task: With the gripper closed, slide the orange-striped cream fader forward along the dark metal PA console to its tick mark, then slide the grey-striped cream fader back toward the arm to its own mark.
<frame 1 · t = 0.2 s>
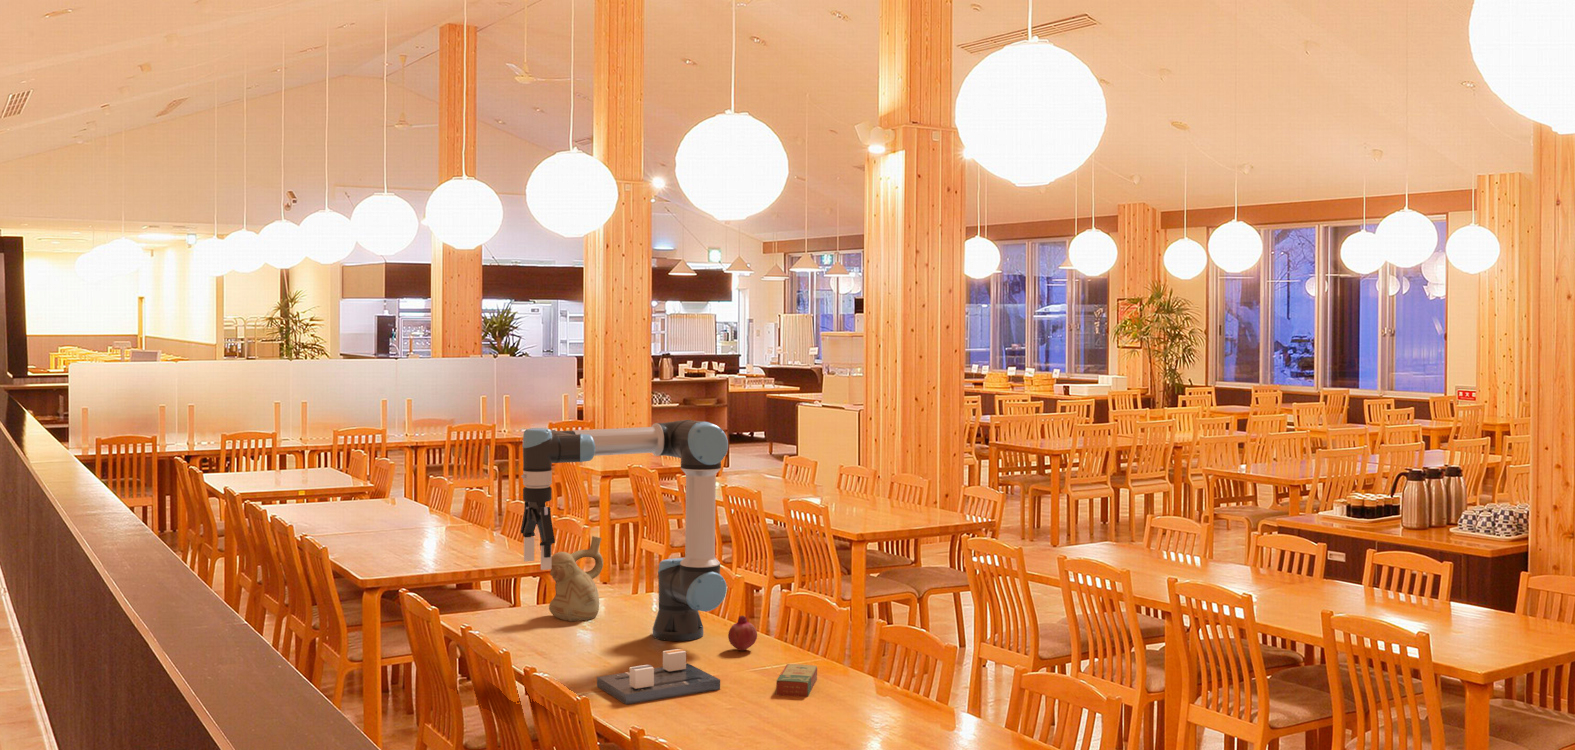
hand: (537, 565, 342), 28 cm above the table, fingers open, 13 cm apart
carton: (796, 689, 326), on the table
console: (658, 687, 324), on the table
ceramic vessel: (577, 618, 402), on the table
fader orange: (674, 659, 332), point 5 cm above the table, slide at -7.0 cm
fader grey: (641, 676, 316), point 5 cm above the table, slide at 7.0 cm
fruit: (742, 651, 362), on the table
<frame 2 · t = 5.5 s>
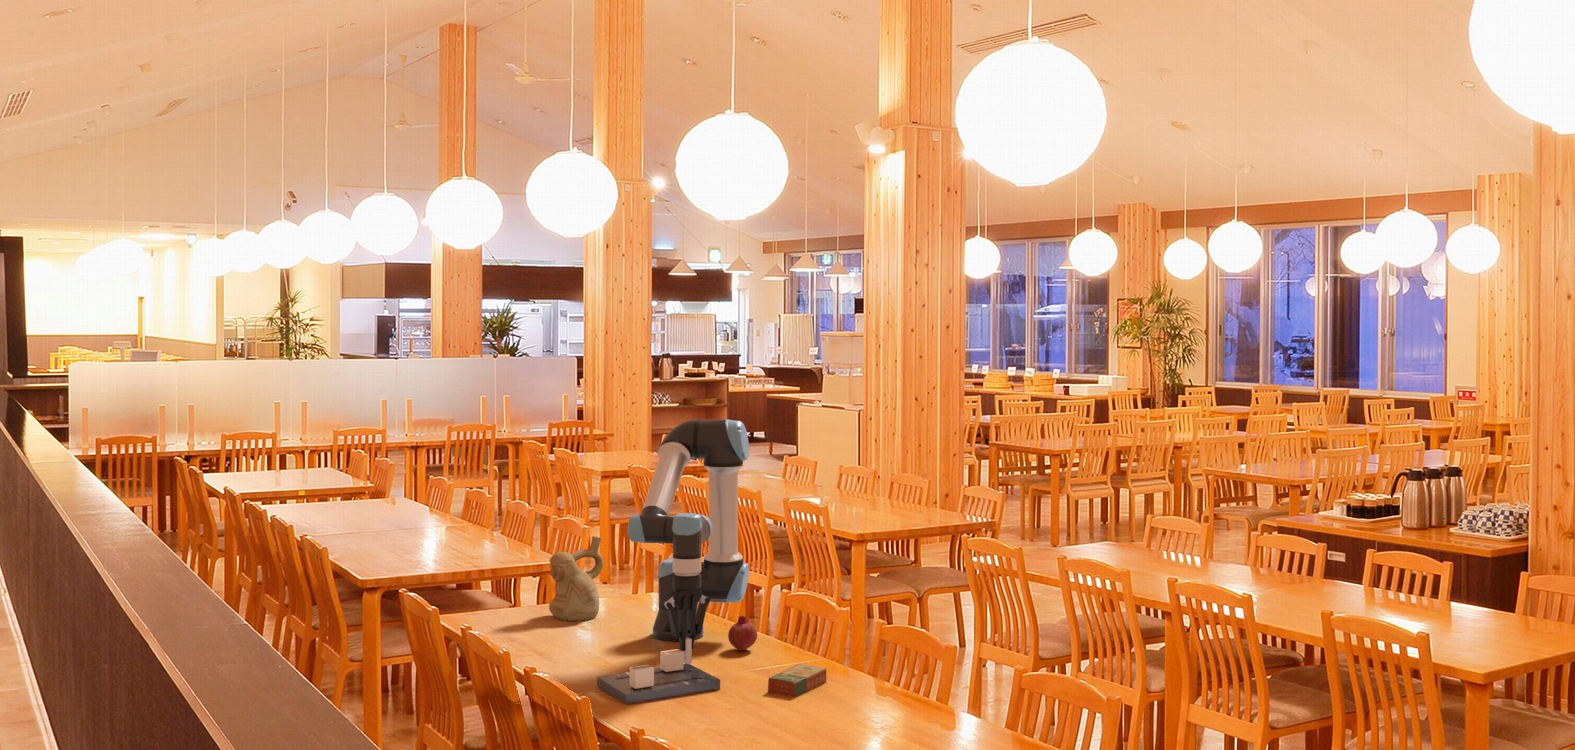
hand: (686, 662, 334), 4 cm above the table, fingers closed
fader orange: (671, 660, 332), point 5 cm above the table, slide at -6.2 cm, touching gripper
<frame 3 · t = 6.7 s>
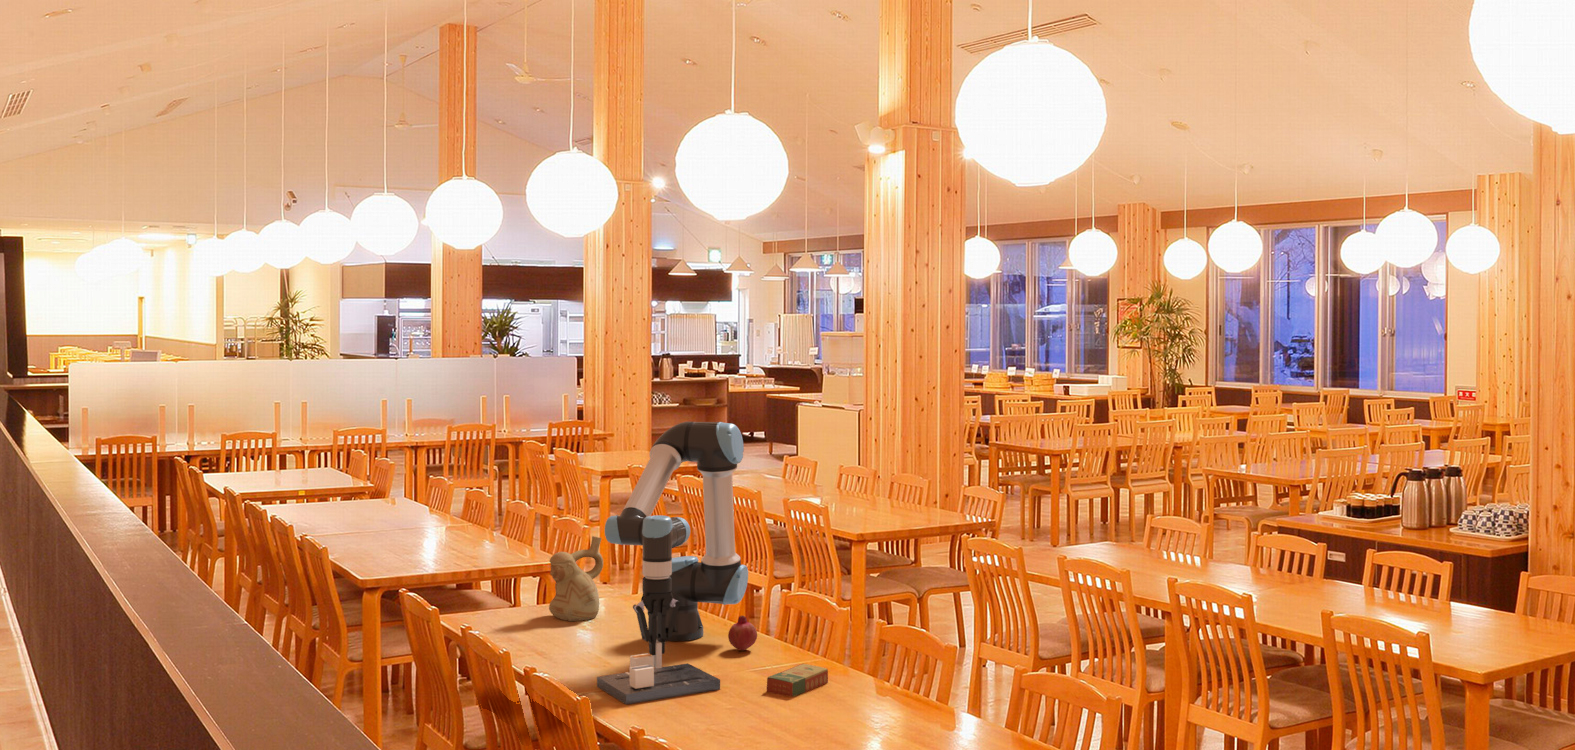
hand: (656, 666, 329), 4 cm above the table, fingers closed
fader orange: (641, 664, 327), point 5 cm above the table, slide at 2.4 cm, touching gripper
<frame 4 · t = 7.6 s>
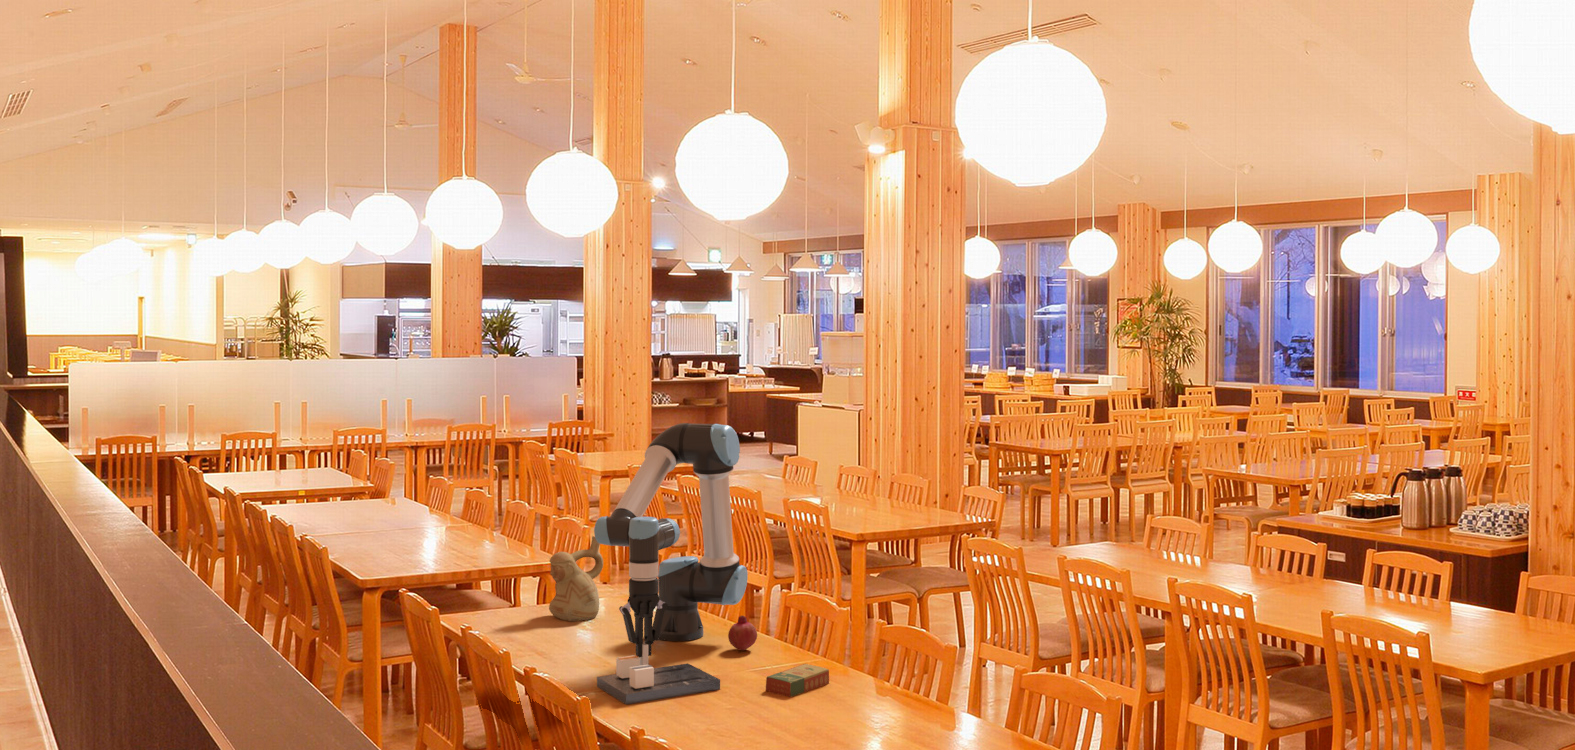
hand: (643, 668, 327), 4 cm above the table, fingers closed
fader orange: (628, 666, 325), point 5 cm above the table, slide at 6.2 cm, touching gripper
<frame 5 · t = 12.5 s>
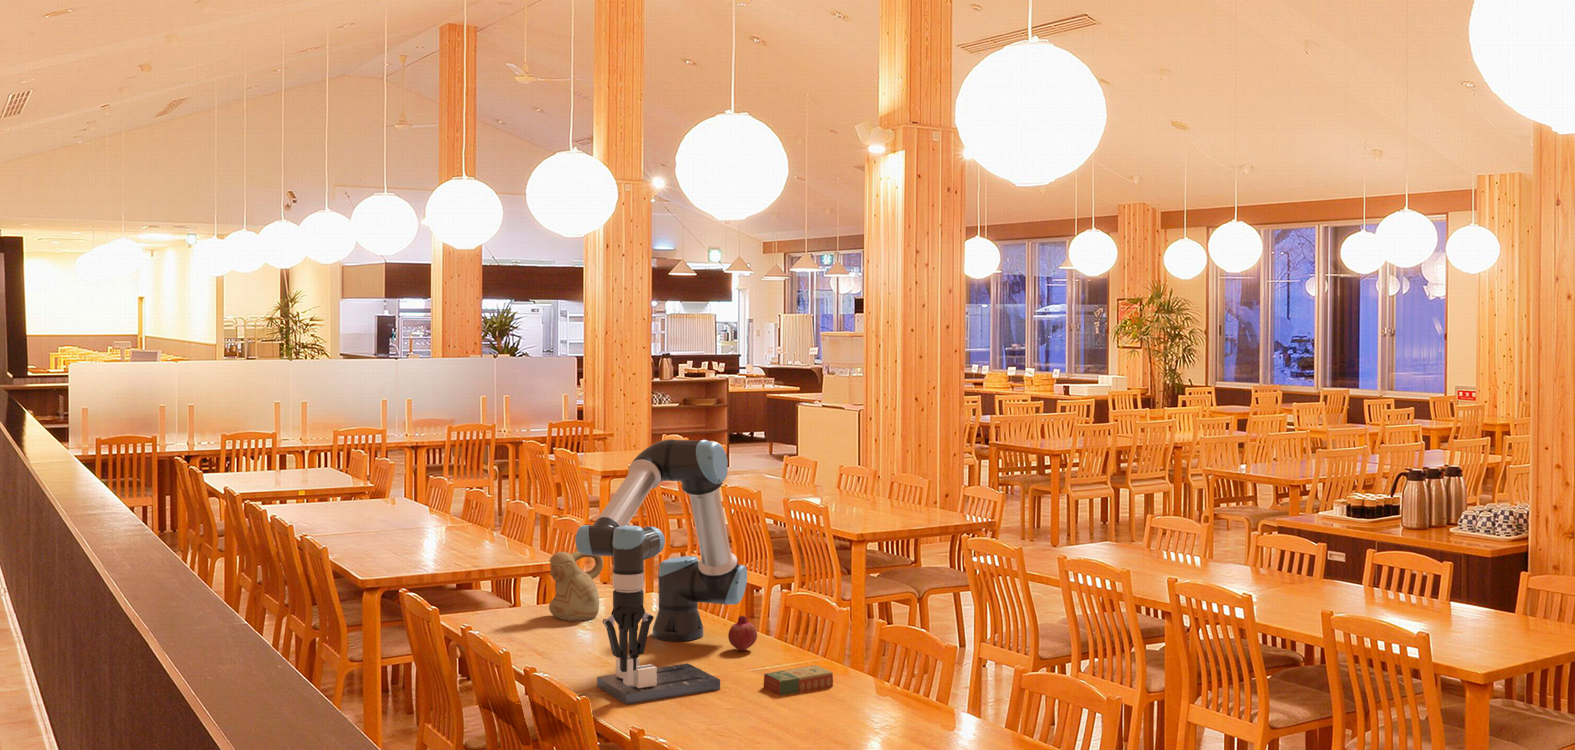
hand: (628, 683, 315), 4 cm above the table, fingers closed
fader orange: (627, 666, 325), point 5 cm above the table, slide at 6.3 cm
fader grey: (644, 675, 317), point 5 cm above the table, slide at 6.2 cm, touching gripper
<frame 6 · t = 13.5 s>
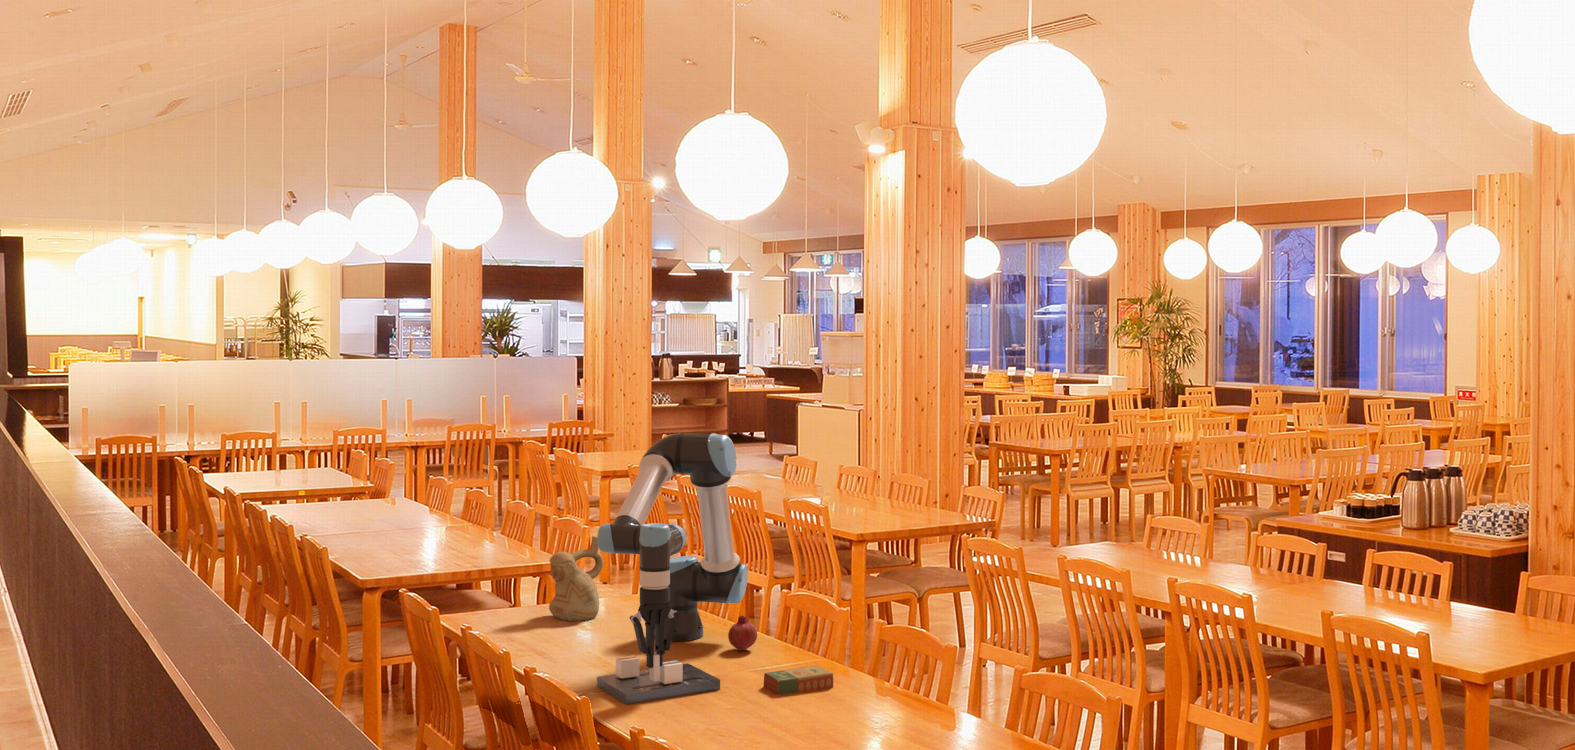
hand: (654, 679, 318), 4 cm above the table, fingers closed
fader grey: (670, 671, 320), point 5 cm above the table, slide at -1.0 cm, touching gripper
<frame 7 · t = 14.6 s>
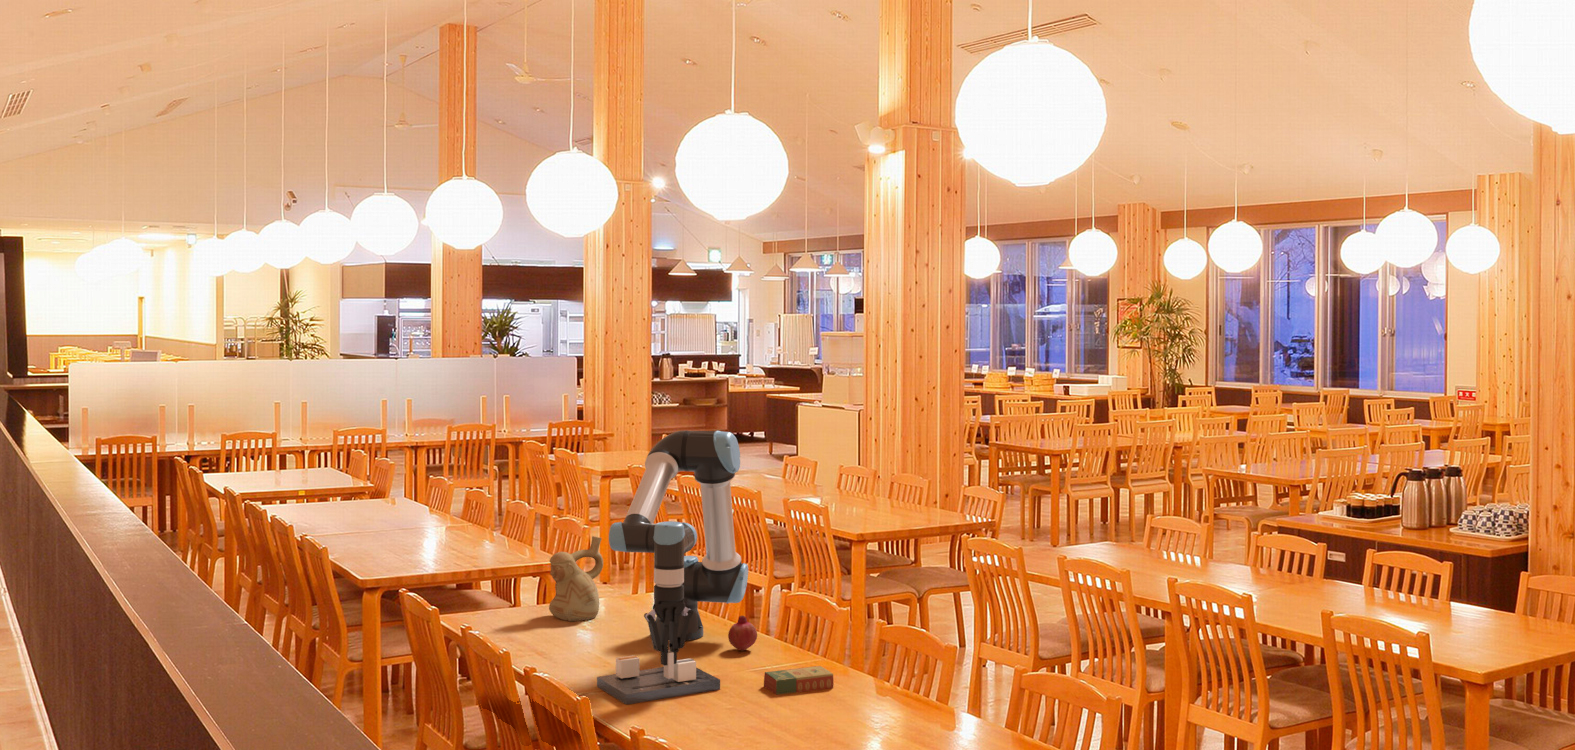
hand: (668, 677, 320), 4 cm above the table, fingers closed
fader grey: (684, 669, 322), point 5 cm above the table, slide at -4.8 cm, touching gripper
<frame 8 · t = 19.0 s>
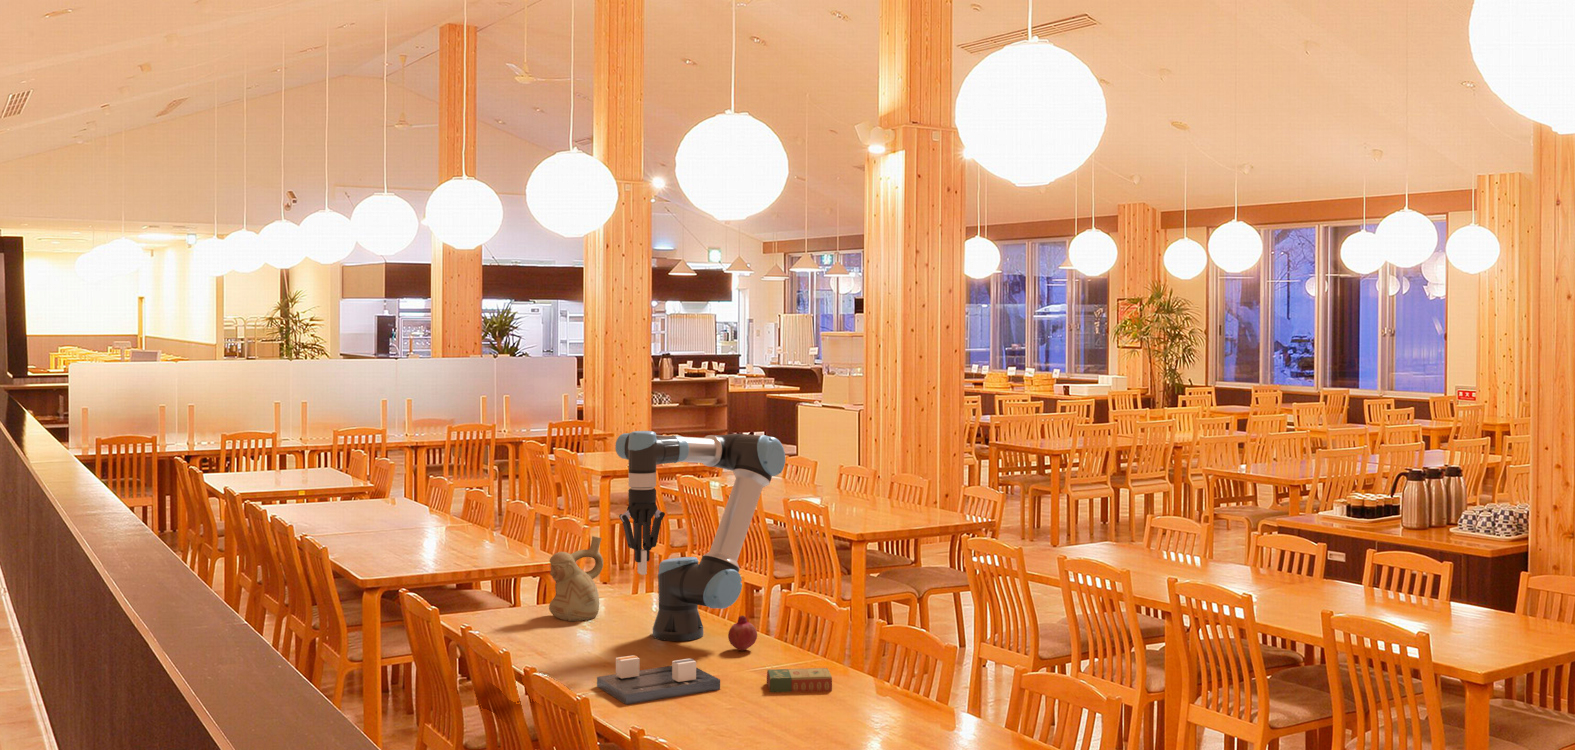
hand: (642, 573, 348), 24 cm above the table, fingers closed
fader grey: (684, 669, 322), point 5 cm above the table, slide at -4.8 cm
at the end: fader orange slide at 6.3 cm; fader grey slide at -4.8 cm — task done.
